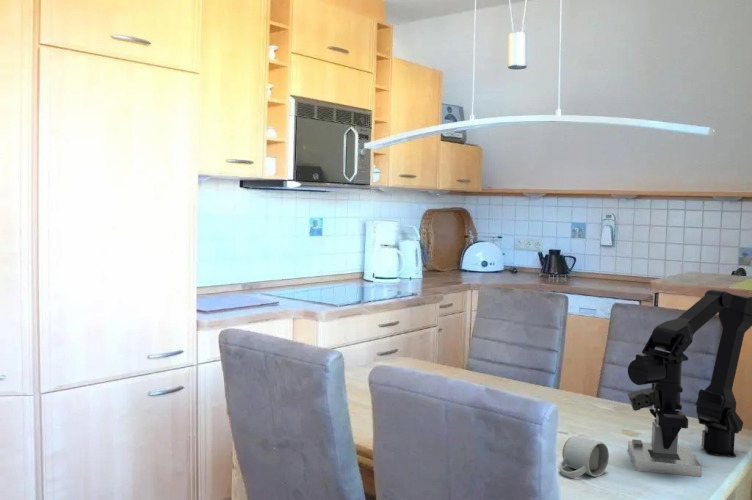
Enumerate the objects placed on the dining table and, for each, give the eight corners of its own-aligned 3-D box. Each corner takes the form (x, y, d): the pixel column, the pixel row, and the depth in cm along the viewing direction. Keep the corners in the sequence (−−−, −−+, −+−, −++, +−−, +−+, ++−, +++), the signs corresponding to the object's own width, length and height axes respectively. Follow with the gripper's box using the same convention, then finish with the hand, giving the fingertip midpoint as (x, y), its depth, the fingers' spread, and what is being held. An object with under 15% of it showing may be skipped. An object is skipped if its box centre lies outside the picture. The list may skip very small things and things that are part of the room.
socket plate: (688, 456, 171) (689, 443, 170) (700, 476, 158) (701, 462, 158) (627, 450, 174) (628, 438, 173) (635, 470, 161) (635, 456, 161)
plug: (673, 448, 166) (675, 421, 166) (676, 454, 162) (678, 426, 162) (651, 446, 167) (652, 419, 167) (653, 452, 163) (655, 424, 163)
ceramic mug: (579, 461, 166) (580, 429, 165) (609, 472, 159) (610, 439, 159) (550, 472, 159) (551, 439, 159) (580, 484, 153) (581, 450, 152)
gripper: (626, 368, 174) (623, 429, 175) (636, 387, 156) (633, 456, 157) (674, 371, 172) (671, 434, 173) (690, 391, 154) (686, 461, 155)
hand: (664, 445), depth 165 cm, fingers closed on plug, 4 cm apart
